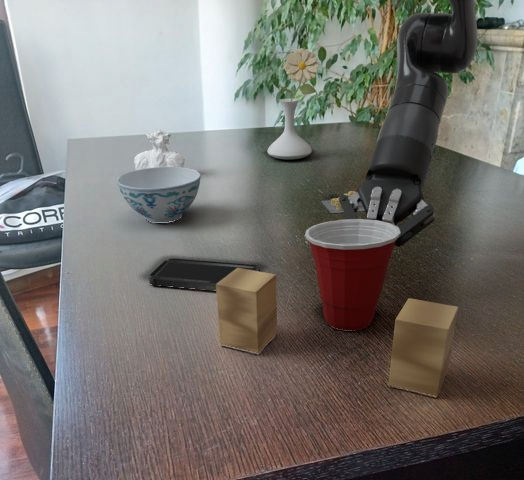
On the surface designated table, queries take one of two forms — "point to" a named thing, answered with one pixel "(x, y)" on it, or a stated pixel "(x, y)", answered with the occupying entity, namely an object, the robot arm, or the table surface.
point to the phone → (194, 273)
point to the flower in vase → (301, 70)
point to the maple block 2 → (422, 345)
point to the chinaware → (160, 191)
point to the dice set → (335, 205)
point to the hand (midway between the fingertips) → (367, 270)
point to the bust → (158, 153)
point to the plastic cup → (351, 268)
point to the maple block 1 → (247, 309)
